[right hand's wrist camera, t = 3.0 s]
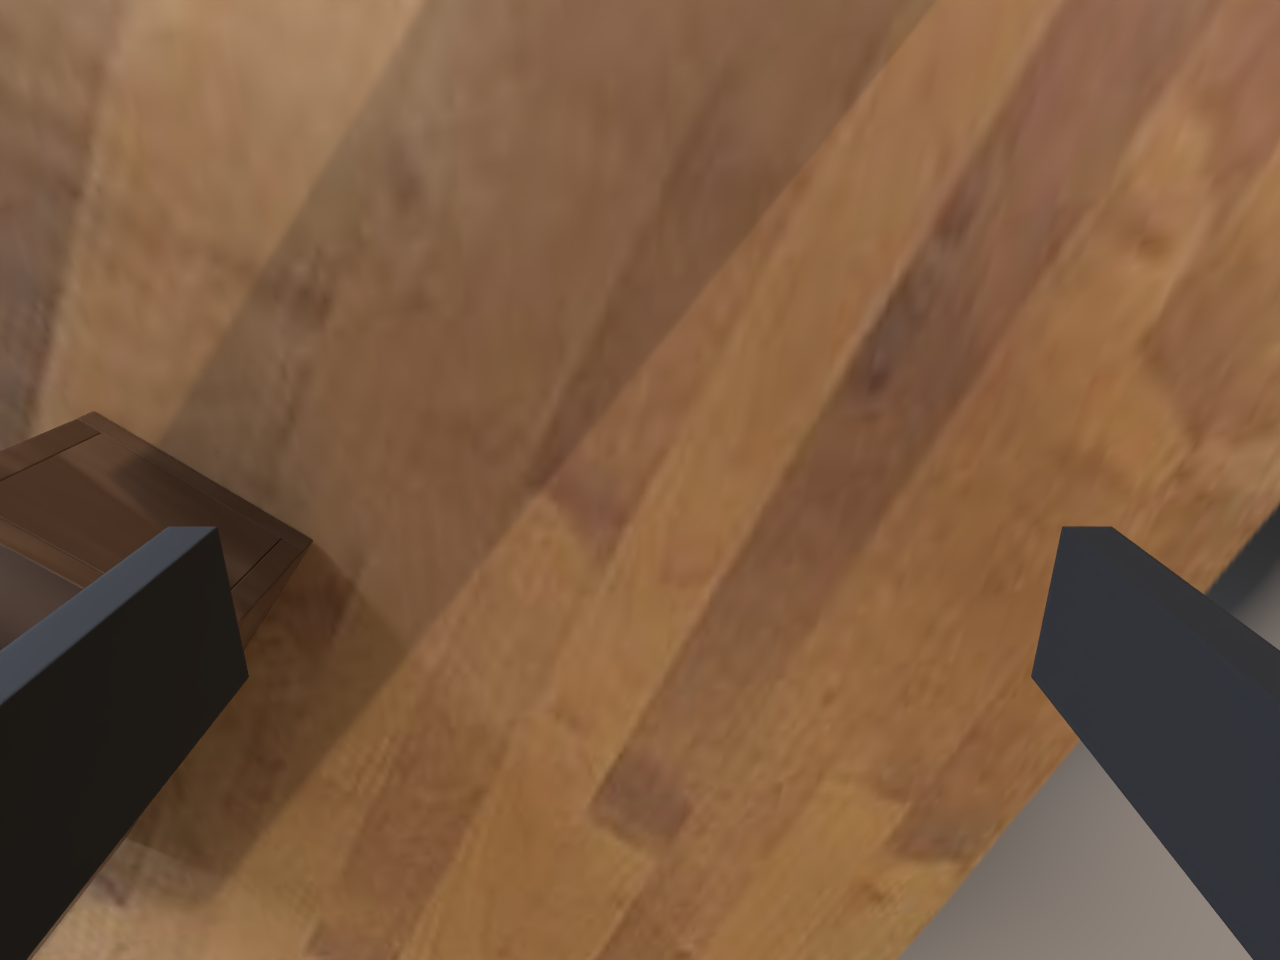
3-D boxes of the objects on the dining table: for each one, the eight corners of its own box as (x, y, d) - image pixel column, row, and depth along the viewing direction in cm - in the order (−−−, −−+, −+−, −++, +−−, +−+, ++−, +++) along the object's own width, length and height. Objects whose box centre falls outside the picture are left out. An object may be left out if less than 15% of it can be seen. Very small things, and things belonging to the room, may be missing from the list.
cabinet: (125, 838, 42) (-9, 1010, 33) (-70, 745, 40) (-268, 903, 31) (313, 540, 36) (208, 656, 27) (93, 410, 33) (-96, 492, 25)
